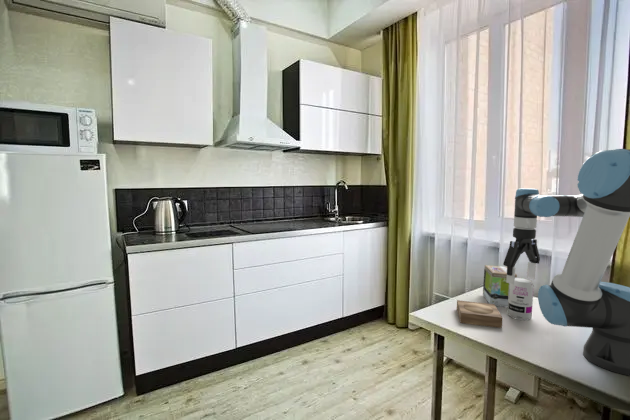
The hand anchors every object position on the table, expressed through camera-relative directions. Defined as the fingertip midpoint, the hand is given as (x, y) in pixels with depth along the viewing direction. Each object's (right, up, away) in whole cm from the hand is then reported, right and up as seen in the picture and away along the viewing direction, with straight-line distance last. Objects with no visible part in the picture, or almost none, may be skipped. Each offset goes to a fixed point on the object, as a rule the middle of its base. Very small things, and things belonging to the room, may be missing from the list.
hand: (520, 280), depth 130 cm
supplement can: (0, -15, +1) cm, 15 cm away
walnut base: (-18, -15, -1) cm, 23 cm away
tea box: (+1, -13, +18) cm, 23 cm away
